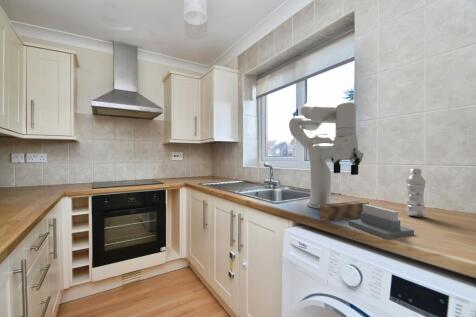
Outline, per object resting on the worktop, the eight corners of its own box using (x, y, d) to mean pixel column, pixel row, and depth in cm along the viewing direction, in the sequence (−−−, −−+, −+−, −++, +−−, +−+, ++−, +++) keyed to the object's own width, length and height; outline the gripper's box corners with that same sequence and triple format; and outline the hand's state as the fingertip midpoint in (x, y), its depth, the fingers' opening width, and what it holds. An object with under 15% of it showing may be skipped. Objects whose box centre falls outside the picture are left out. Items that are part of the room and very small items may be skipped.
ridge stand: (348, 224, 84) (348, 204, 84) (373, 221, 88) (373, 202, 88) (385, 238, 70) (385, 214, 70) (413, 234, 73) (413, 211, 73)
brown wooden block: (327, 221, 88) (327, 206, 88) (320, 219, 92) (320, 204, 92) (368, 216, 96) (368, 202, 96) (360, 214, 100) (360, 200, 100)
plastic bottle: (425, 216, 95) (426, 168, 95) (425, 219, 90) (425, 169, 90) (406, 213, 99) (407, 168, 99) (405, 216, 94) (405, 169, 94)
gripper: (324, 134, 101) (324, 172, 101) (354, 130, 84) (354, 175, 84) (337, 134, 103) (337, 172, 103) (370, 130, 86) (370, 175, 87)
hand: (345, 173), depth 94 cm, fingers open, 9 cm apart
